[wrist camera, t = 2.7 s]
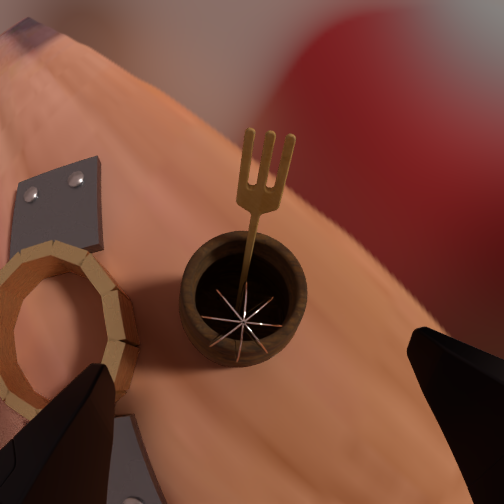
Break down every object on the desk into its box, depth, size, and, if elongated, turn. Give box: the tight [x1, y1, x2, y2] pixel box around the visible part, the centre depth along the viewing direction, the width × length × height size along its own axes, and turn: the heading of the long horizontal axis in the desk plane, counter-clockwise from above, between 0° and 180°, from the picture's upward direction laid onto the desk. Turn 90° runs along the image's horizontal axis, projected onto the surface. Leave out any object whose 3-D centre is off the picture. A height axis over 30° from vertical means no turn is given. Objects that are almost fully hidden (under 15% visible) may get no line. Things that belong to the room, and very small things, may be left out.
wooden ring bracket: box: [0, 156, 167, 504], centre depth 15 cm, size 27×11×3 cm, turn 16°
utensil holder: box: [179, 128, 307, 367], centre depth 13 cm, size 6×6×12 cm
